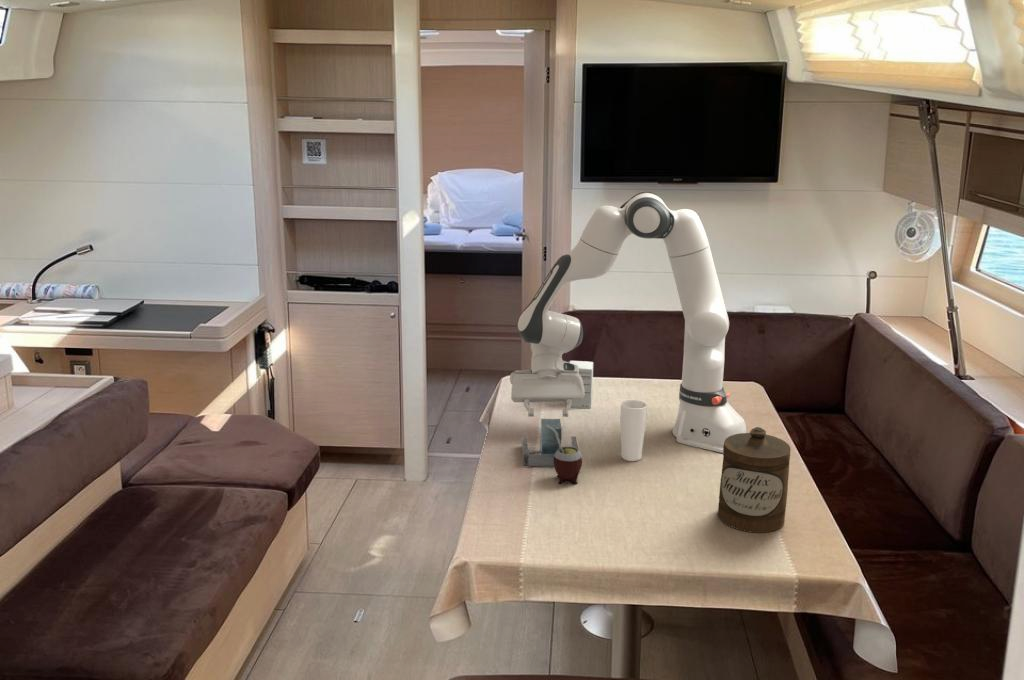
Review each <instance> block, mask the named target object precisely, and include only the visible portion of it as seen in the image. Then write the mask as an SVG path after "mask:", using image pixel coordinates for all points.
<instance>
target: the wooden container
mask: <svg viewBox="0 0 1024 680" xmlns="http://www.w3.org/2000/svg"><path fill="white" fill-rule="evenodd" d="M722 455H723V457H722V466H721V475H720V476H721V477H720V482H719V483H720V484H719V494H718V505H717V508H718V509H717V515H718V518H719V519H720V521H721V522H722V521H723V522H722V523H723V524H725V523H726V524H725V525H727V526H728V525H730V526H733V527H735V528H738V529H741V530H740V531H742V530H745V531H744V532H747V531H751V532H750V533H757V532H761V533H769V531H770V532H774V531H777V530H779V529H781V528H782V527H783V526H784V524H785V518H786V509H787V500H788V499H787V498H788V488H789V475H790V473H789V472H790V459H791V446H790V445H789V443H788V442H786V441H784V440H783V439H781V438H779V437H776V436H773V435H770V434H767V431H766V430H765V429H763V428H762V427H759V426H756V427H754V428H752V429H751V430H750V432H746V433H740V434H735V435H732V436H729V437H728V438H726V439H725V441H724V447H723V453H722ZM730 526H729V527H730ZM733 527H732V528H733ZM780 527H781V528H780ZM735 528H734V529H735ZM738 529H737V530H738ZM773 530H774V531H773Z"/></svg>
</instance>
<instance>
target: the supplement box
mask: <svg viewBox="0 0 1024 680" xmlns="http://www.w3.org/2000/svg"><path fill="white" fill-rule="evenodd" d="M568 362H569V363H572V364H576V365H578V367H579V375H580V376H581V377H582V380H583V385H584V392H585V397H584V400H583V401H582V402H581V403H572V406H571V408H574V409H575V408H576V409H592V404H593V386H594V385H593V380H594V378H593V377H594V362H593V361H586V360H584V361H583V360H569V361H568Z"/></svg>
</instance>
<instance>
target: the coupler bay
mask: <svg viewBox="0 0 1024 680" xmlns="http://www.w3.org/2000/svg"><path fill="white" fill-rule="evenodd" d="M570 442H571V443H570V447H574V448H576V449H578V450H579V451H580V449H579V445H578V440H577V436H571V439H570ZM528 445H529V444H528V436H527V435H522V436H521V453H522V463H523V467H524V466H543V467H545V468H547V467H548V468H549V467H551V468H553V467H554V461H553V460H554V454H541V453H529V447H528Z"/></svg>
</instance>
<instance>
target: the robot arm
mask: <svg viewBox="0 0 1024 680" xmlns="http://www.w3.org/2000/svg"><path fill="white" fill-rule="evenodd" d="M631 235H634V236H636V237H639V238H640V239H641V238H642V239H661V240H663V242H664V244H665V247H666V252H667V255H668V259H669V263H670V266H671V270H672V274H673V277H674V281H675V285H676V289H677V293H678V297H679V301H680V302H679V303H680V305H681V310H682V313H683V318H684V336H683V337H684V338H683V339H684V340H683V360H682V374H681V375H682V376H681V383H680V385H679V391H678V392H679V394H678V398H679V399H678V400H679V404H678V405H679V406H678V411H677V416H676V420H675V423H674V425H673V428H672V434H673V435H674V437H676V442H677V443H679V444H683V445H687V446H691V447H695V448H699V449H705V450H709V451H713V452H717V453H721V454H723V447H724V441H725V439H726V438H728V437H729V436H732V435H735V434H740V433H747V424H746V421H745V419H744V418H743V417H742V416H741V415H740V414H739V413H738V412H737V411H736V410H735V409H734V408H733V407H732V406H731V405H730V403H729V402H728V398H729V397H731V395H730V394H731V392H727V393H726V392H725V390H724V386H723V383H724V381H723V380H724V370H725V369H724V368H725V351H726V350H725V347H726V344H725V343H726V337H727V333H728V331H729V327H730V320H729V315H728V312H727V308H726V305H725V301H724V296H723V293H722V289H721V286H720V280H719V277H718V273H717V269H716V265H715V262H714V259H713V253H712V250H711V247H710V242H709V238H708V236H707V233H706V230H705V227H704V226H703V223H702V221H701V219H700V217H699V215H698V214H697V213H696V212H695V211H694V210H693V209H688V208H682V209H677V210H672V209H669V208H668V207H667V204H665V202H664V200H663V199H662V198H661V196H659V195H658V194H656V193H655V192H652V191H651V192H650V191H643V192H639V193H635V195H633V196H632V197H630V198H629V199H627V201H625V202H624V203H623V204H622V205H620V207H616V206H614V205H601V206H599V207H598V208H596V209H595V211H594V212H593V214H592V215H591V217H590V218H589V220H588V221H587V223H586V225H585V227H584V229H583V231H582V233H581V236H580V238H579V240H578V242H577V243H576V245H575V246H574V247H573V249H571V250H570V251H569V252H568V253H567V254H564V255H562V256H560V257H559V258H558V259H557V261H556V262H555V263H554V264H553V266H552V267H551V269H550V270H549V272H548V274H547V275H546V277H545V278H544V280H543V282H542V283H541V285H540V286H539V288H538V289H537V291H536V293H535V295H534V297H533V298H532V299H531V301H530V303H529V304H527V306H526V307H525V308H524V309H523V311H522V312H521V313H520V315H519V317H518V321H517V324H516V325H517V326H516V330H517V331H518V334H519V336H520V337H521V338H522V340H523V341H524V342H525V343H528V344H529V343H530V350H531V352H532V356H531V359H530V361H531V362H530V363H531V366H530V367H531V368H530V369H525V370H524V369H523V370H520V369H517V370H514V371H512V372H511V373H510V375H509V381H510V384H511V385H512V386H511V393H510V394H511V395H510V396H511V400H512V402H513V403H523V404H524V405H523V406H524V408H525V409H526V411H527V413H528V414H527V416H528V417H529V418H530V417H532V418H533V417H534V416H535V408H531V407H530V403H532V404H533V403H537V404H538V403H551V404H553V403H555V404H556V403H557V404H558V403H562V404H563V403H565V404H566V407H565V408H562V417H563V418H564V417H565V418H567V417H569V411H570V409H571V408H572V407H571V406H572V403H581V402H582V401H583V400H584V397H585V392H584V385H583V380H582V377H581V376H580V375H579V367H578V365H576V364H572V363H569V362H570V361H566V360H563V355H564V354H567V353H569V352H571V351H573V350H574V349H576V348H578V347H579V346H580V345H581V344H582V341H583V337H584V330H583V329H584V328H583V325H582V321H580V319H579V318H578V317H575V316H572V315H568V314H565V313H560V312H556V311H553V310H550V308H551V306H552V305H553V303H554V301H555V299H556V298H557V297H558V295H559V293H560V291H561V290H562V289H563V288H564V286H567V284H568V283H572V282H575V281H580V280H589V279H596V278H599V277H602V276H604V275H605V274H607V273H609V271H610V270H611V269H612V267H613V266H614V264H615V262H616V260H617V257H618V255H619V253H620V250H621V248H622V245H623V243H624V242H625V240H626V239H627V238H628V237H629V236H631Z"/></svg>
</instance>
